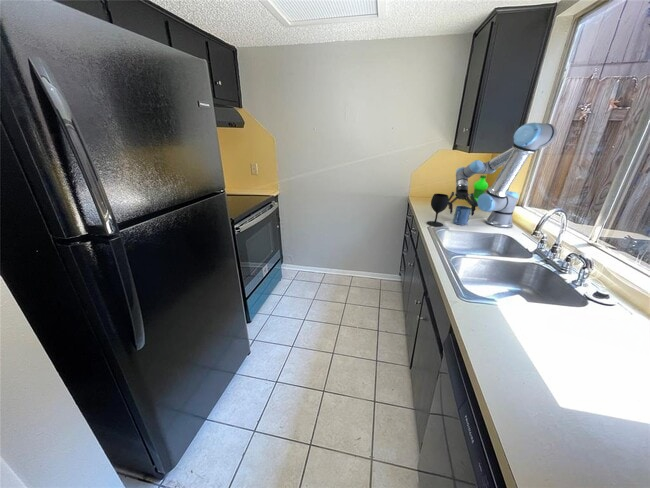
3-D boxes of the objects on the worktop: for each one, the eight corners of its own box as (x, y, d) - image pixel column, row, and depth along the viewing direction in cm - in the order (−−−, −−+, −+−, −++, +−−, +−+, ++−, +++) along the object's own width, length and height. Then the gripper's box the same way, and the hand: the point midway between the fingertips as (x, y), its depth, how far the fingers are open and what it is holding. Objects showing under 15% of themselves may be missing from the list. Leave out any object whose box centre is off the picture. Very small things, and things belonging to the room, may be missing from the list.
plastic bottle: (466, 203, 229) (473, 174, 219) (477, 203, 230) (485, 174, 220) (473, 206, 220) (481, 176, 210) (484, 206, 221) (493, 176, 211)
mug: (456, 220, 184) (460, 205, 179) (469, 223, 177) (473, 208, 173) (447, 223, 177) (451, 207, 172) (460, 227, 170) (464, 211, 166)
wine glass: (444, 227, 169) (451, 197, 161) (428, 225, 170) (434, 196, 162) (441, 222, 178) (447, 193, 170) (425, 221, 180) (431, 192, 172)
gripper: (478, 191, 184) (479, 218, 177) (441, 189, 189) (441, 214, 181) (483, 185, 177) (484, 213, 170) (444, 183, 182) (444, 209, 174)
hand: (461, 213), depth 175 cm, fingers open, 13 cm apart
